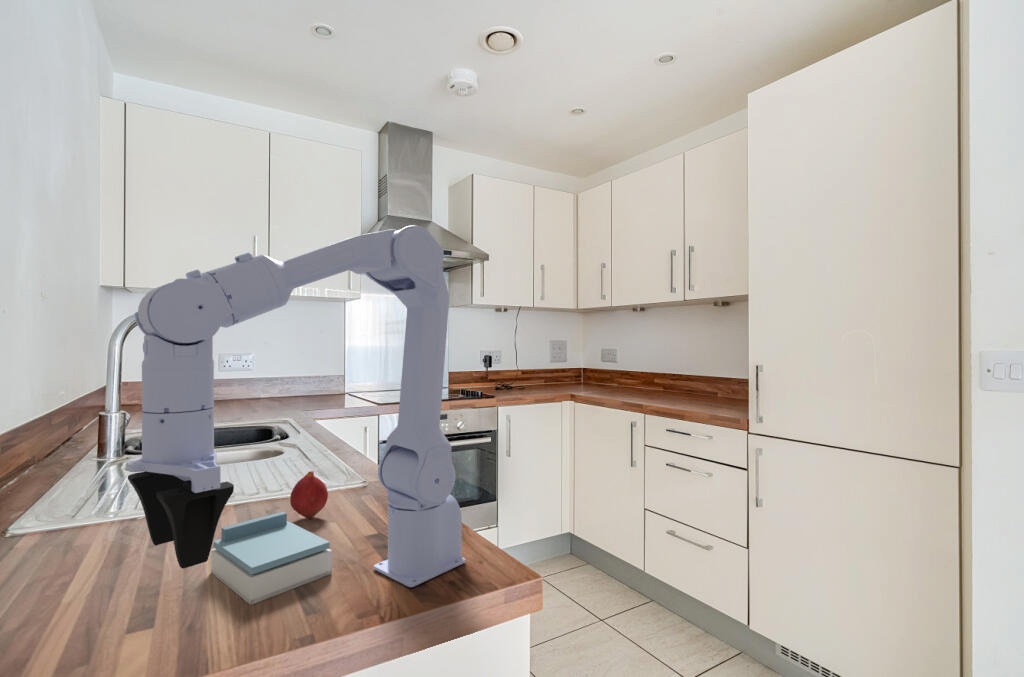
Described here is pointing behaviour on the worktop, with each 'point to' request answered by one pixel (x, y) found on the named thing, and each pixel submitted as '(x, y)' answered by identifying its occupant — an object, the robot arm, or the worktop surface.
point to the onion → (309, 496)
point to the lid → (267, 542)
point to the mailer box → (270, 575)
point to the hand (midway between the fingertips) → (179, 552)
